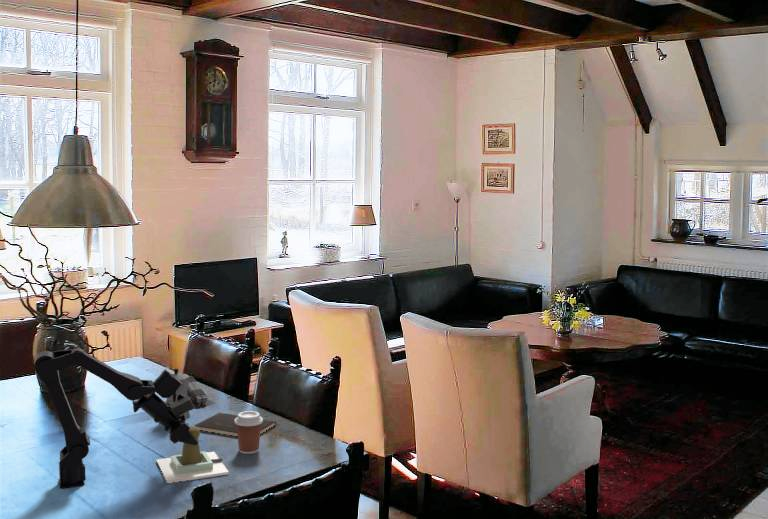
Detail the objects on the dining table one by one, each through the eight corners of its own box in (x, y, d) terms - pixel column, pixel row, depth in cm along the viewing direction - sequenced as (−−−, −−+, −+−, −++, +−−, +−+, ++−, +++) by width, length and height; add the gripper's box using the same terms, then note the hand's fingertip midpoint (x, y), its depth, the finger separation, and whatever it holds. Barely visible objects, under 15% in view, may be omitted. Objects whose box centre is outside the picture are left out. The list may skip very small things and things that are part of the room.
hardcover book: (252, 441, 271) (252, 434, 271) (194, 431, 280) (194, 425, 279) (276, 427, 286) (276, 420, 286) (220, 418, 294) (220, 412, 294)
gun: (190, 390, 326) (192, 369, 322) (205, 419, 311) (208, 397, 307) (179, 391, 324) (181, 370, 319) (194, 421, 308) (196, 399, 304)
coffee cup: (231, 447, 264) (231, 411, 262) (259, 443, 268) (259, 408, 266) (238, 457, 256) (237, 420, 254) (266, 453, 259) (266, 417, 258)
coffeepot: (165, 411, 299) (164, 364, 296) (191, 411, 300) (190, 363, 298) (160, 425, 284) (159, 375, 281) (188, 424, 285) (187, 374, 283)
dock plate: (167, 483, 234) (167, 474, 234) (156, 462, 250) (156, 453, 250) (230, 474, 242) (230, 465, 241) (215, 453, 258) (215, 445, 258)
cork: (184, 458, 249) (184, 423, 247) (203, 459, 248) (203, 424, 247) (178, 465, 243) (177, 430, 241) (197, 467, 242) (197, 431, 241)
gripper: (182, 397, 233) (220, 431, 238) (173, 380, 250) (209, 412, 255) (153, 426, 231) (193, 459, 236) (146, 407, 248) (183, 438, 253)
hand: (195, 441), depth 245 cm, fingers closed on cork, 5 cm apart
